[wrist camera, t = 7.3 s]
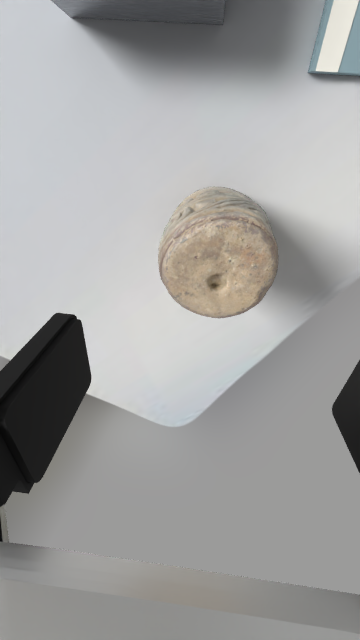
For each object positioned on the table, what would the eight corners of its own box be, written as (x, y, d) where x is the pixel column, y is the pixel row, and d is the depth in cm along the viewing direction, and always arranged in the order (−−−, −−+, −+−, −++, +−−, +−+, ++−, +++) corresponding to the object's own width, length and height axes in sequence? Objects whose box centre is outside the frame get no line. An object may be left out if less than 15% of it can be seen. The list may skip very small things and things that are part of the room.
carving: (264, 238, 24) (301, 306, 14) (188, 266, 26) (174, 341, 16) (245, 164, 21) (275, 184, 11) (161, 203, 23) (122, 249, 13)
